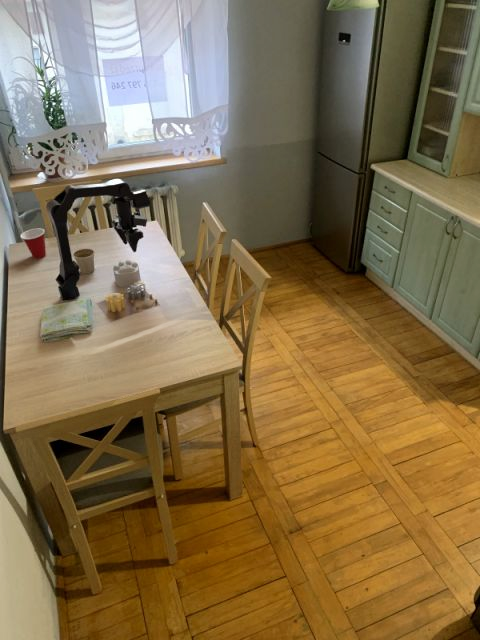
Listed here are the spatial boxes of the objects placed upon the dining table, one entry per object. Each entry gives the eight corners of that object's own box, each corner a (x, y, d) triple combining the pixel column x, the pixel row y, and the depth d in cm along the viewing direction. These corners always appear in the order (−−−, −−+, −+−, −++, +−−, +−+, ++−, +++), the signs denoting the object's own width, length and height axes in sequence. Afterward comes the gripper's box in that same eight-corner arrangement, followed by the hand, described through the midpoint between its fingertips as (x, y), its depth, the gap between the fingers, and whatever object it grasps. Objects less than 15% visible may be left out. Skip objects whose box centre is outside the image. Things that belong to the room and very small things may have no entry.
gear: (132, 301, 184) (130, 293, 181) (125, 294, 188) (124, 286, 186) (147, 296, 187) (146, 288, 185) (140, 289, 191) (139, 281, 189)
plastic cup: (26, 253, 223) (18, 230, 217) (49, 249, 227) (43, 226, 220) (27, 263, 215) (20, 239, 208) (52, 258, 219) (45, 234, 212)
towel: (41, 345, 164) (37, 333, 161) (45, 313, 180) (41, 302, 178) (94, 336, 167) (91, 325, 164) (93, 306, 184) (91, 295, 181)
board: (111, 324, 173) (110, 318, 171) (96, 305, 184) (95, 300, 182) (160, 307, 182) (159, 301, 180) (143, 290, 193) (142, 285, 191)
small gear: (139, 292, 190) (138, 285, 189) (131, 289, 192) (131, 282, 191) (147, 288, 193) (146, 282, 192) (140, 285, 196) (139, 279, 194)
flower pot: (95, 275, 204) (91, 257, 199) (73, 275, 204) (69, 258, 200) (100, 265, 212) (97, 248, 207) (80, 265, 212) (76, 248, 207)
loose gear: (111, 314, 176) (109, 301, 173) (105, 306, 181) (102, 294, 178) (128, 308, 179) (126, 296, 176) (121, 301, 184) (119, 288, 181)
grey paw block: (117, 290, 193) (113, 272, 188) (114, 276, 203) (110, 258, 198) (142, 286, 196) (139, 268, 191) (138, 272, 206) (135, 254, 201)
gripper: (153, 214, 181) (157, 251, 190) (133, 201, 194) (139, 235, 203) (126, 221, 176) (132, 258, 185) (108, 206, 189) (114, 242, 198)
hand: (130, 248), depth 193 cm, fingers open, 9 cm apart
